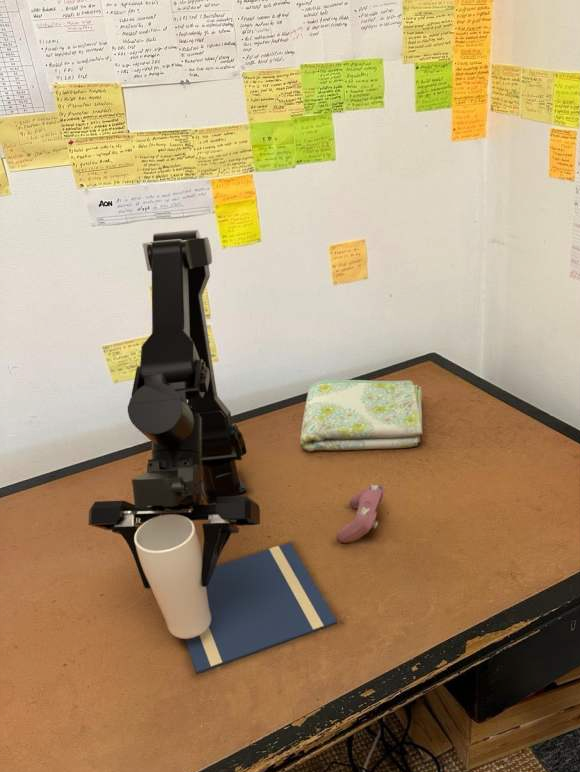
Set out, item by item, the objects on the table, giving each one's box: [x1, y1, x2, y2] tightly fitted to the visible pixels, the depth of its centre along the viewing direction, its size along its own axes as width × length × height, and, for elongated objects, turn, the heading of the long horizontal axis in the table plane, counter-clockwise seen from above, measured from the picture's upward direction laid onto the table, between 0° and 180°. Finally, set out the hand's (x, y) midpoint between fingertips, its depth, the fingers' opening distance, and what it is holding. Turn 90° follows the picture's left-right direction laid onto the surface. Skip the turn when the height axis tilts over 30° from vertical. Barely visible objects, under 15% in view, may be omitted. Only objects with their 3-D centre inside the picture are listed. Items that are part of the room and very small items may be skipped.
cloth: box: [184, 542, 338, 675], centre depth 98 cm, size 18×18×1 cm
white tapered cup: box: [134, 514, 211, 640], centre depth 87 cm, size 7×7×15 cm
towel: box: [299, 379, 423, 452], centre depth 132 cm, size 18×21×5 cm
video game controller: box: [336, 483, 386, 544], centre depth 108 cm, size 10×5×7 cm, turn 168°
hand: (176, 587), depth 86 cm, fingers closed on white tapered cup, 6 cm apart
